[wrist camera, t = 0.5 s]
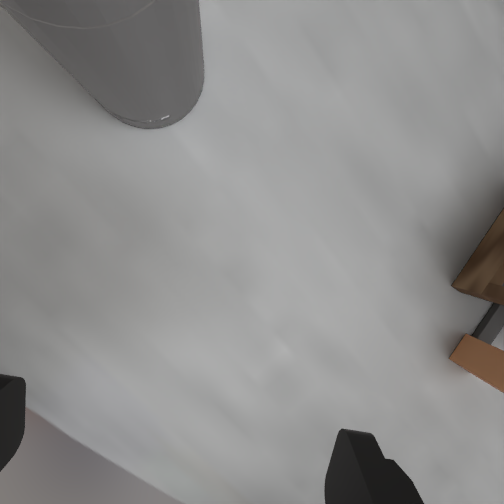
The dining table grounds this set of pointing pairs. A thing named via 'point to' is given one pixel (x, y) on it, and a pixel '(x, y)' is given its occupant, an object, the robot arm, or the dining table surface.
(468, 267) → the wooden stool
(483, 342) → the block
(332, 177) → the dining table surface
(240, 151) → the dining table surface
